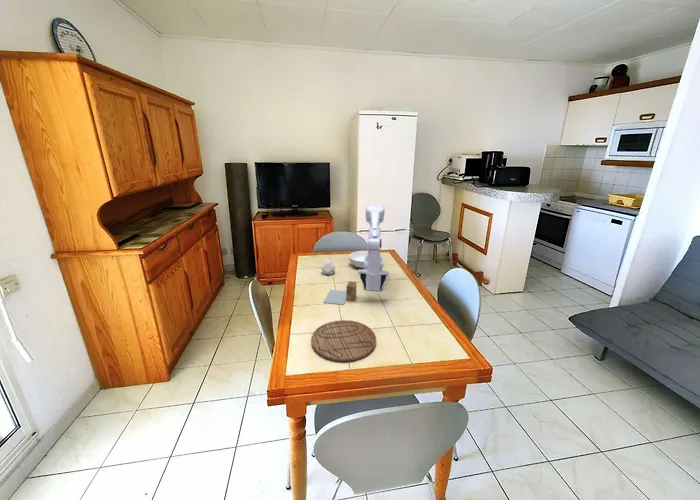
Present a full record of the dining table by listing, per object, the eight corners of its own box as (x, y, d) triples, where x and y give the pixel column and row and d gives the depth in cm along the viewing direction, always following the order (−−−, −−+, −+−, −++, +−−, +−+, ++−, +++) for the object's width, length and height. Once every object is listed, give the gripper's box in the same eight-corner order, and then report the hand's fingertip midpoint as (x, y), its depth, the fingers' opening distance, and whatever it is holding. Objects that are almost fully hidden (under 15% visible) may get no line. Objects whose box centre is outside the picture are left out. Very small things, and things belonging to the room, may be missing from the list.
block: (356, 296, 153) (356, 281, 150) (354, 301, 147) (354, 287, 145) (348, 295, 153) (348, 281, 151) (346, 301, 148) (346, 286, 145)
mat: (348, 292, 157) (348, 291, 157) (343, 304, 144) (343, 304, 144) (330, 290, 159) (330, 289, 159) (323, 303, 146) (323, 302, 146)
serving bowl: (360, 258, 207) (360, 248, 205) (387, 264, 195) (387, 254, 193) (342, 266, 191) (342, 256, 189) (370, 274, 179) (370, 264, 177)
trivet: (386, 356, 109) (386, 351, 109) (318, 369, 102) (317, 364, 102) (363, 320, 132) (363, 316, 131) (306, 329, 125) (306, 325, 125)
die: (329, 278, 175) (338, 264, 175) (317, 270, 175) (325, 256, 175) (330, 277, 183) (338, 264, 184) (318, 270, 183) (326, 257, 184)
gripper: (357, 264, 140) (356, 291, 144) (388, 266, 137) (387, 293, 142) (359, 259, 146) (359, 284, 151) (389, 261, 144) (388, 287, 148)
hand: (372, 288), depth 147 cm, fingers open, 7 cm apart
